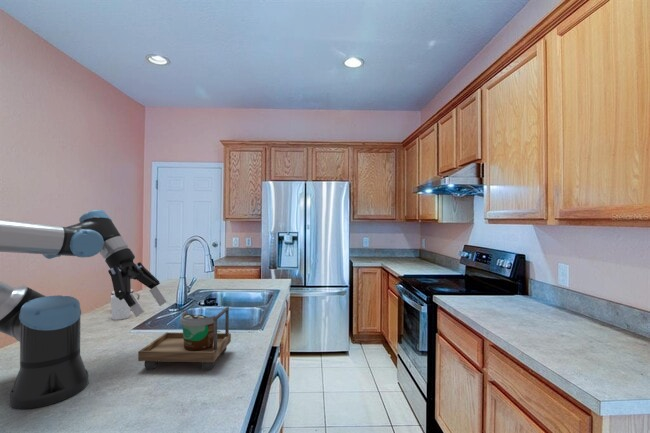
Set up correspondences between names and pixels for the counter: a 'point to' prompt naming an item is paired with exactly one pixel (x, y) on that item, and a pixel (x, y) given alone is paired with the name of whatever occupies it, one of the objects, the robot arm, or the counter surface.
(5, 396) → the counter surface
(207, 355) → the dolly
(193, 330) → the food container
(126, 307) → the white cup
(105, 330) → the counter surface
